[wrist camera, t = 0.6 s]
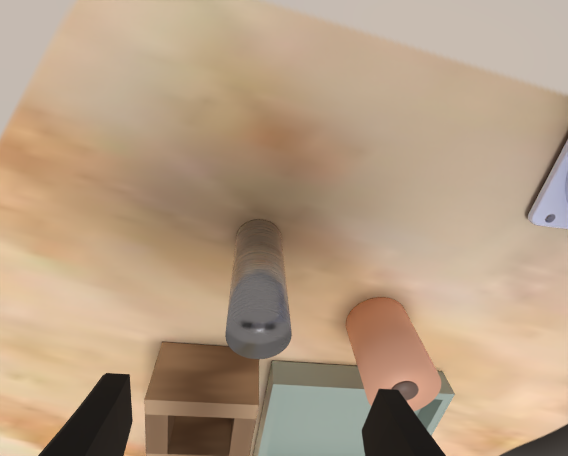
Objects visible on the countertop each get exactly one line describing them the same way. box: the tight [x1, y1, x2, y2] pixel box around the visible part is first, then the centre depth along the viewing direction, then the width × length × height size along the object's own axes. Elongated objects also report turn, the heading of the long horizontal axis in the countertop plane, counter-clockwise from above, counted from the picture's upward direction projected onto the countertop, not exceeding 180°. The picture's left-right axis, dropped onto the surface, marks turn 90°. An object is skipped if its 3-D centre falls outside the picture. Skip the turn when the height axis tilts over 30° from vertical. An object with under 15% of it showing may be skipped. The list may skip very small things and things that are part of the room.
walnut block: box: [144, 342, 259, 456], centre depth 22 cm, size 6×6×4 cm
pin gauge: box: [226, 219, 291, 359], centre depth 16 cm, size 2×2×7 cm
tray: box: [253, 361, 455, 456], centre depth 26 cm, size 12×11×2 cm
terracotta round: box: [346, 297, 441, 411], centre depth 21 cm, size 4×4×5 cm
